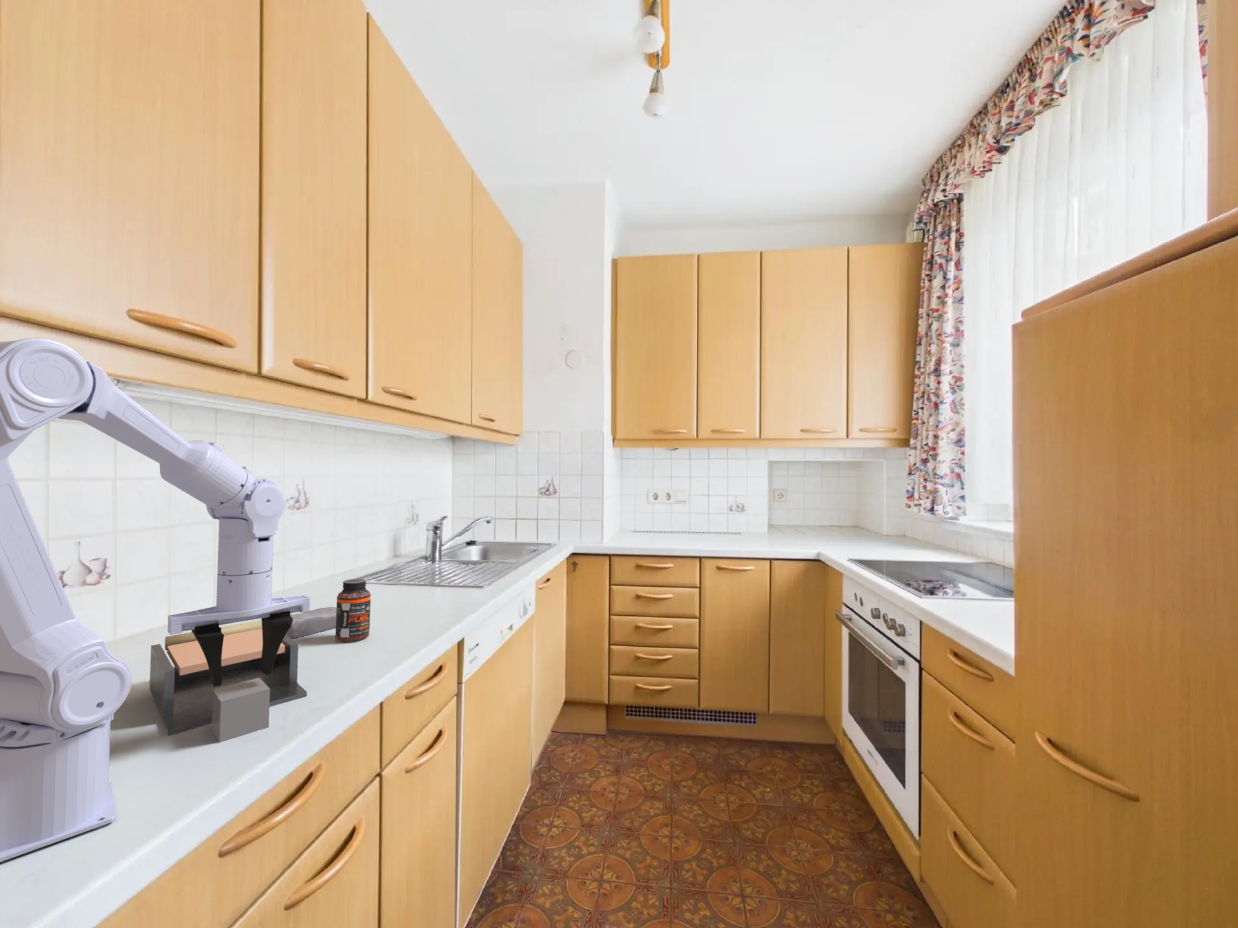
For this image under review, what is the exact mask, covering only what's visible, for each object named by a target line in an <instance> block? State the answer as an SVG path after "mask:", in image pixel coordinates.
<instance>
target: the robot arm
mask: <svg viewBox="0 0 1238 928" xmlns="http://www.w3.org/2000/svg"><path fill="white" fill-rule="evenodd" d="M57 419H59V420H69V421H70V420H71V421H78V422H81V423H85V424H87V425H88V426H90V427H92V428H93V429H96V430H97V431H99V432H101V433H103V434H105V435H107V436H108V437H110V438H112V439H113V440H116V441H118V442H119V443H121V444H123V445H125V446H127V447H129V448H130V449H132V450H134V451H136V452H138V453H140V454H142V455H143V456H145V457H147V458H149V459H150V460H152V461H154V462H156V463H158V464H159V474H160V477H161V479H163V480H164V481H165V482H167V483H168V484H170V485H172V486H173V487H175V488H177V489H179V490H181V491H182V492H184V493H186V494H188V495H189V496H191V497H192V498H194V499H195V500H197V501H199V502H200V503H202V504H204V505H205V506H206V510H207V513H208V514H209V515H210V517H211V518H212V519H214V520H218V541H217V542H218V543H217V544H218V545H217V547H218V548H217V574H216V575H217V576H216V602H215V604H216V605H215V606H211V607H210V606H209V607H206V608H200V609H196V610H192V611H187V612H183V613H175V614H170V615H168V617H167V632H168V635H170V636H173V635H179V634H183V633H182V632H187V631H190V632H192V633H193V634H194V636H195V638H196V639H197V641H198V643H199V645H200V647H201V649H202V651H203V653H204V655H205V658H206V661H207V663H208V667H209V671H210V676H211V683H212V685H213V686H214V687H217V686H221V684H222V665H221V658H222V647H223V640H224V634H223V633H222V632H221V628H220V627H221V626H223V625H229V624H235V623H241V622H247V621H248V622H249V621H253V620H254V621H255V620H259V619H260V620H261V621H262V636H263V647H262V658H261V671H262V672H263V673H264V674H265V675H267V674H271V673H272V668H273V664H274V661H275V658H276V655H277V652H278V650H279V647H280V645H281V643H282V641H283V639H284V637H285V635H286V633H287V632H288V630H289V629H290V627H291V625H292V622H293V618H292V617H291V616H290V615H291V614H293V613H295V614H296V613H304V612H309V611H311V597H309V596H308V595H305V594H303V595H298V596H287V597H274V598H273V597H272V596H273V595H272V593H273V591H272V590H273V589H272V588H273V565H274V563H273V562H274V560H273V559H274V535H276V532H277V531H278V526H279V525H278V524H279V519H280V518H281V517H282V516H283V513H284V512H285V510H286V506H287V503H288V502H287V501H288V500H287V499H285V498H284V494H283V492H282V490H281V488H280V487H279V486H278V485H277V484H276V483H275V482H273V481H272V480H269V479H266V478H256V477H255V475H254V474H252V472H253V470H251V469H250V468H249V467H247V466H241V465H240V464H238V463H237V462H235V461H234V460H233V459H232V458H230V457H228V456H227V455H225V454H224V453H222V451H223V449H224V448H223V447H222V446H221V445H220V444H218V443H216V442H208V441H204V440H202V439H201V440H199V439H198V440H188V441H186V439H184V438H183V437H181V435H179V434H178V433H176V432H175V431H174V430H173V429H171V428H170V427H168V425H166V424H164V422H162V421H161V420H160V419H158V417H156V416H155V415H153V414H152V413H151V412H150V411H148V410H147V409H146V408H144V407H143V406H142V405H140V404H139V403H138V402H136V401H135V399H133V398H131V397H130V396H129V395H127V393H125V392H124V391H123V390H121V389H120V388H118V386H116V385H115V384H114V383H113V382H112V379H111V378H110V377H109V375H108V374H107V372H106V371H105V369H103V368H101V367H100V366H98V365H96V364H95V363H93V362H91V361H86V360H85V359H84V358H83V357H82V356H81V355H80V354H79V353H78V352H77V351H75V349H73V348H71V347H70V346H68V345H66V344H64V343H62V342H59V341H55V340H52V339H49V338H40V337H29V338H27V337H25V338H21V339H17V340H10V341H9V340H8V341H0V863H2V862H4V861H7V860H10V859H13V858H15V857H18V856H21V855H24V854H27V853H29V852H32V851H35V850H39V849H41V848H43V847H46V846H49V845H52V844H54V843H58V842H60V841H63V840H66V839H68V838H69V839H70V838H72V837H74V836H77V835H80V834H83V833H86V832H88V831H90V830H91V831H92V830H94V829H96V828H100V827H102V826H105V825H108V824H110V823H113V822H114V821H115V820H116V819H117V810H116V803H115V798H114V791H113V785H112V782H111V781H110V779H109V776H110V774H109V773H110V750H111V749H110V743H111V741H110V740H111V722H112V721H113V720H114V718H115V717H114V716H115V715H114V713H116V712H117V710H119V708H120V707H121V706H122V705H123V703H124V702H125V700H126V699H127V697H128V695H129V694H130V691H131V687H132V683H133V674H132V671H131V669H130V667H129V665H128V664H127V662H125V661H124V660H122V659H120V658H118V657H116V656H115V655H113V654H112V653H111V652H110V650H109V649H108V647H107V645H106V642H105V640H104V639H103V638H102V637H101V636H100V635H98V634H97V633H96V632H94V631H92V630H91V629H90V628H89V627H87V626H86V625H85V624H83V623H82V622H81V621H79V620H78V619H77V617H76V615H75V613H74V611H73V608H72V605H71V604H70V601H69V599H68V597H67V594H66V592H65V590H64V588H63V585H62V583H61V581H60V577H59V576H58V573H57V571H56V568H55V566H54V564H53V561H52V560H51V557H50V555H49V553H48V551H47V547H46V546H45V545H46V544H45V543H44V541H43V538H42V536H41V533H40V531H39V529H38V526H37V525H36V522H35V520H34V518H33V515H32V513H31V510H30V509H29V506H28V504H27V501H26V499H25V496H24V495H23V493H22V489H21V487H20V484H19V483H18V480H17V478H16V476H15V473H14V472H13V469H12V467H11V464H10V462H9V456H10V455H11V454H12V453H13V452H14V451H15V450H17V448H18V447H19V446H20V445H21V444H22V443H23V442H24V441H25V440H26V439H27V438H28V437H29V436H30V435H31V434H32V433H33V432H34V431H35V430H38V429H39V428H41V427H42V426H43V427H44V425H46V424H49V423H52V422H53V421H55V420H57Z"/></svg>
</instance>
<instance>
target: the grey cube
mask: <svg viewBox="0 0 1238 928" xmlns="http://www.w3.org/2000/svg"><path fill="white" fill-rule="evenodd" d="M269 701H270V688H269V687H268V686H267V685H266V684H265V683H264V682H263V681H262V680H261V679H260V678H256V679H252V680H248V681H244V682H240V683H236V684H232V685H228V686H224V687H220V688H216V689H212V723H211V725H210V726H211V730H212V731H213V733H214V735H215V737H216V738H217V741H218V742H219V743H223V742H225V741H229V740H232V739H236V738H239V737H243V736H246V735H248V734H252V733H255V732H258V730H259V731H262V730H265V729H269V728H270V706H269Z"/></svg>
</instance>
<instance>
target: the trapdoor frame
mask: <svg viewBox="0 0 1238 928" xmlns="http://www.w3.org/2000/svg"><path fill="white" fill-rule="evenodd" d="M282 644H284V645H285V652H284V653H279V654H277V655H276V658H275V661H274V664H273V668H272V673H271V674H267V675H265V674H264V673H263V672H262V671H261V658H262V657H261V658H257V659H252V660H248V661H243V662H239V663H234V664H230V665H225V666H222V684H221V686H217V687H214V686H213V685H212V683H211V676H210V671H209V669H207V670H202V671H198V672H193V673H189V674H184V675H179V673H178V671H177V670H176V668H175V666H174V665H172V664H173V663H171V660H170V658H168V657H169V656H167V653H166V652H165V649H164V648H163V647H162V645H161V643H158V644H152V645H150V665H149V669H150V670H149V691H150V694H151V697H152V699H153V702H154V705H155V706H156V709H157V712H158V714H159V716H160V719H161V721H162V724H163V726H164V730H165V731H166V733H167V736H170V735H174V734H177V733H181V732H184V731H188V730H191V729H192V730H193V729H196V728H198V727H201V726H205V725H209V724H212V689H216V688H220V687H224V686H228V685H232V684H236V683H240V682H244V681H248V680H252V679H256V678H260V679H261V680H262V681H263V682H264V683H265V684H266V685H267V686H268V687H269V688H270V701H269V707H272V706H277V705H279V704H282V703H283V704H284V703H286V702H290V701H294V700H297V699H300V698H301V699H302V698H304V697H307V696H308V691H307V690H306V689H304V688H303V687H302V686H301V685H300V684H299V683H298V666H299V663H298V661H299V643H298V642H296V641H295V639H293V638H290V637H288V636H287V635H285V637H284V639H283V641H282Z"/></svg>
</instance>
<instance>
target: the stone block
mask: <svg viewBox="0 0 1238 928" xmlns="http://www.w3.org/2000/svg"><path fill="white" fill-rule="evenodd" d="M336 609H337V606H336V607H335V606H327V607H320V608H316V609H310V611H309V612H302V613H301V612H299V613H295V614H293V613H290V616H291V617H292V618H293V622H292V625H291V627H290V629H289V630H288V632H287V633H286V635H287V636H288V637H290V638H291V639H292V640H295V639H297V640H298V639H301V638H304V636H305V637H309V636H313V635H317V634H319V632H320V633H323V632H326V630H327V631H330V630H333V629H335V630H336Z"/></svg>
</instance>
